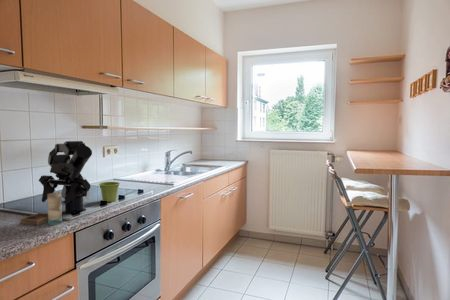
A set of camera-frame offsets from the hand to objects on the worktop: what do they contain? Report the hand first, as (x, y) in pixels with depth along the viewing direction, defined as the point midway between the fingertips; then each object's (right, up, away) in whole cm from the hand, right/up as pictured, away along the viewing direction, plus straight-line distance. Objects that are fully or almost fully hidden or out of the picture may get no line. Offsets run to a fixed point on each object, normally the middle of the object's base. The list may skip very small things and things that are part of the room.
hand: (53, 202), depth 107 cm
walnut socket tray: (-7, -8, +3) cm, 11 cm away
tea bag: (-9, -6, +37) cm, 38 cm away
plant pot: (+6, -6, +36) cm, 37 cm away
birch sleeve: (0, -8, +1) cm, 8 cm away
